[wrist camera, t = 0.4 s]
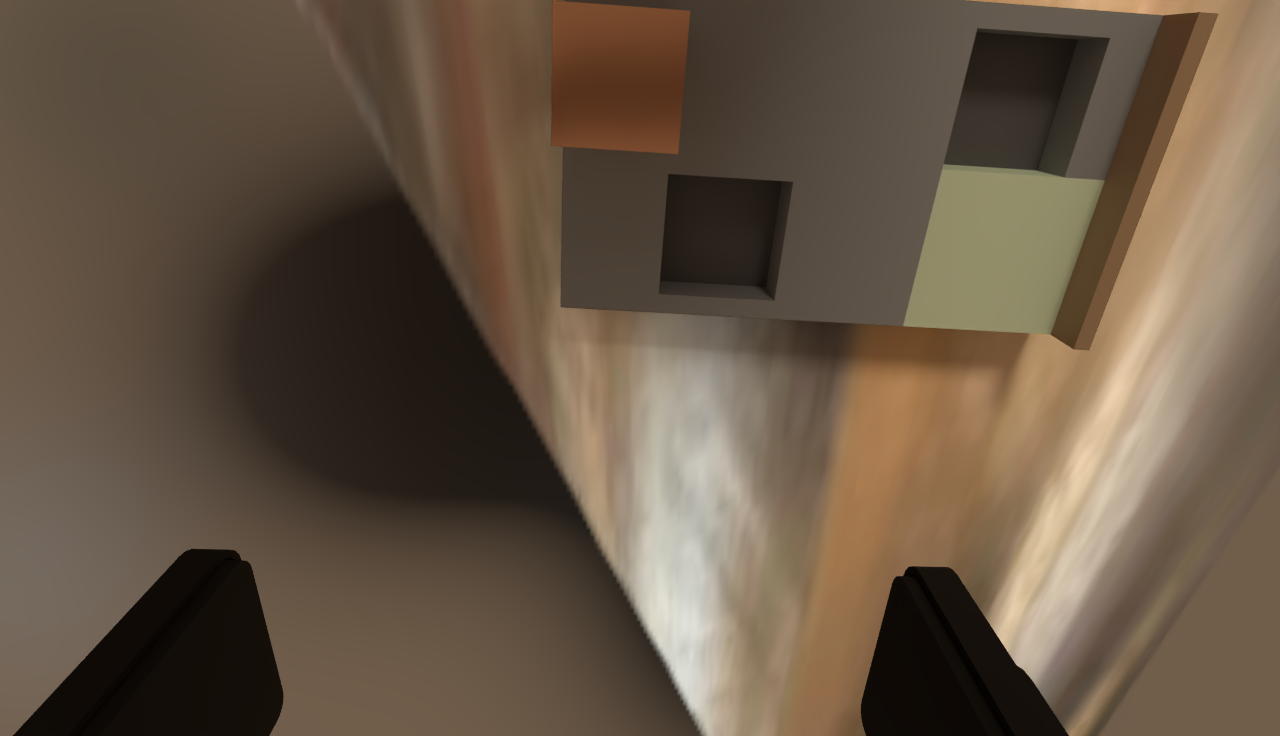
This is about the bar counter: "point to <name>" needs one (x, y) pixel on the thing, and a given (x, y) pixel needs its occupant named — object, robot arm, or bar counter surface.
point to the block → (618, 76)
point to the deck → (888, 166)
